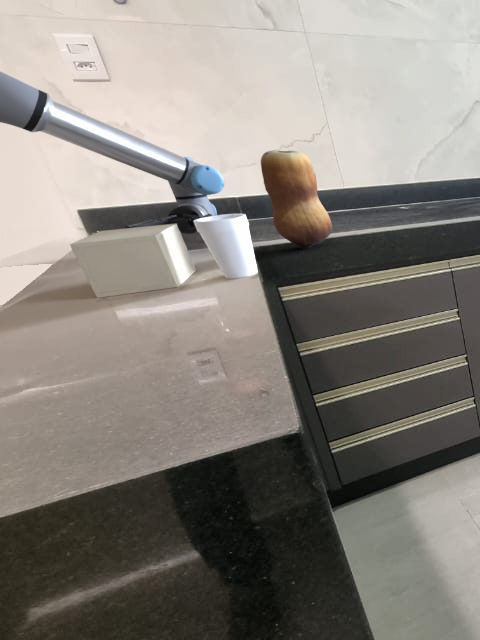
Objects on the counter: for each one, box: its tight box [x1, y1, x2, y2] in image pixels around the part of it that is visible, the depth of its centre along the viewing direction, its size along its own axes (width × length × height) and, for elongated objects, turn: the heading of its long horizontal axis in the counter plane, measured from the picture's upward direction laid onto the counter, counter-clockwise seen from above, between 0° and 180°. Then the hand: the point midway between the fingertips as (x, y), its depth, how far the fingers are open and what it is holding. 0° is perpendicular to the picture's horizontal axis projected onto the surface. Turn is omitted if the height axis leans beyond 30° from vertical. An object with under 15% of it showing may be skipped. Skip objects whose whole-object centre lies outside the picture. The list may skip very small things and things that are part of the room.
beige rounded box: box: [69, 224, 197, 299], centre depth 116 cm, size 15×14×11 cm
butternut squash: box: [260, 149, 333, 250], centre depth 141 cm, size 14×13×25 cm
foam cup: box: [193, 213, 258, 280], centre depth 119 cm, size 10×9×13 cm
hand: (165, 231), depth 132 cm, fingers open, 13 cm apart
